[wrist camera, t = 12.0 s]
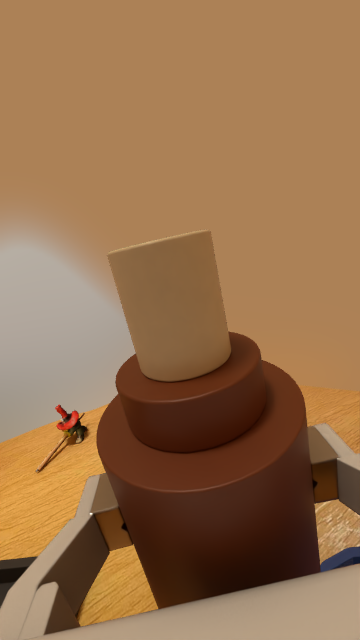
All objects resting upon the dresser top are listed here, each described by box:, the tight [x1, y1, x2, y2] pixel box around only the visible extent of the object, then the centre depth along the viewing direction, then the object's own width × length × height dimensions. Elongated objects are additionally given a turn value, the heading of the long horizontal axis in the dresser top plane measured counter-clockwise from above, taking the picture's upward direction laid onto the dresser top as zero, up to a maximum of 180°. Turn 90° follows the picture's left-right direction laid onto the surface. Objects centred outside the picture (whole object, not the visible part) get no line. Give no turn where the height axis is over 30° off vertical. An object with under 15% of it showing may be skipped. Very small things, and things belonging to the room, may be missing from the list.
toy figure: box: [36, 405, 87, 472], centre depth 43 cm, size 10×4×7 cm
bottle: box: [97, 230, 321, 609], centre depth 9 cm, size 6×6×18 cm
